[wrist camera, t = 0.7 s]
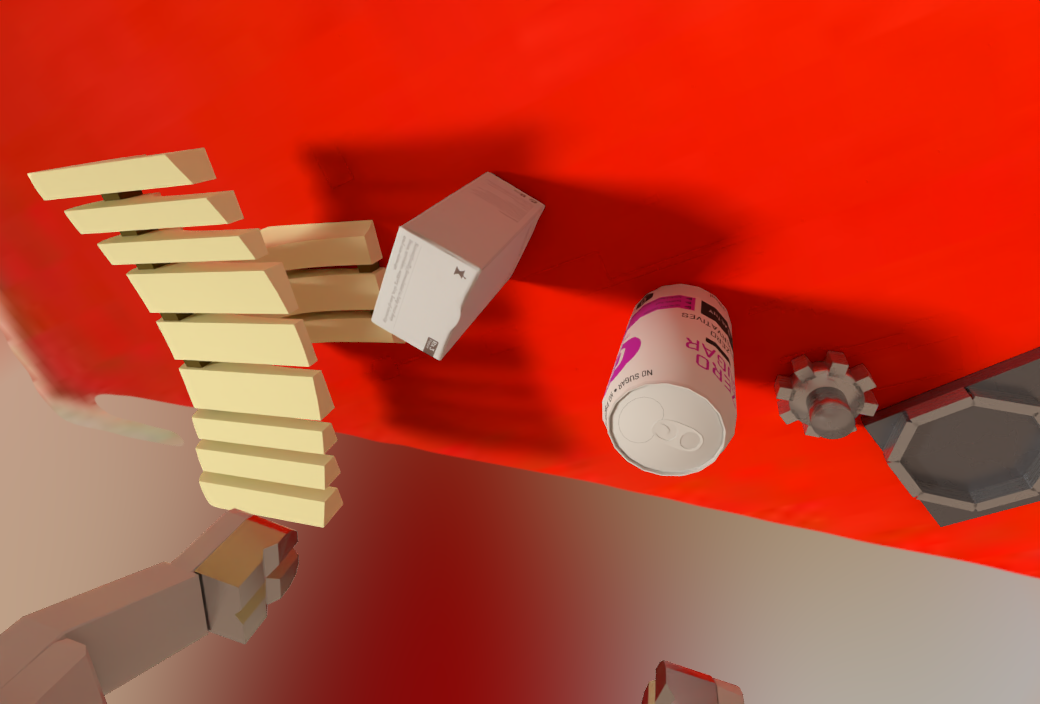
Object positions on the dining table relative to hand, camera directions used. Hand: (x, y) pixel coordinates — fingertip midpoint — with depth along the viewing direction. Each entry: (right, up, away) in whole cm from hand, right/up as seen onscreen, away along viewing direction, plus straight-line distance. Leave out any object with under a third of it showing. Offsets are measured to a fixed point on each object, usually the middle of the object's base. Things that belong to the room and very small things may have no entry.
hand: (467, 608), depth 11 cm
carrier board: (+38, -1, +29) cm, 48 cm away
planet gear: (+26, +3, +31) cm, 41 cm away
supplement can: (+15, +8, +33) cm, 37 cm away
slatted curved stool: (-19, +13, +43) cm, 49 cm away
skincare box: (-1, +16, +34) cm, 38 cm away
